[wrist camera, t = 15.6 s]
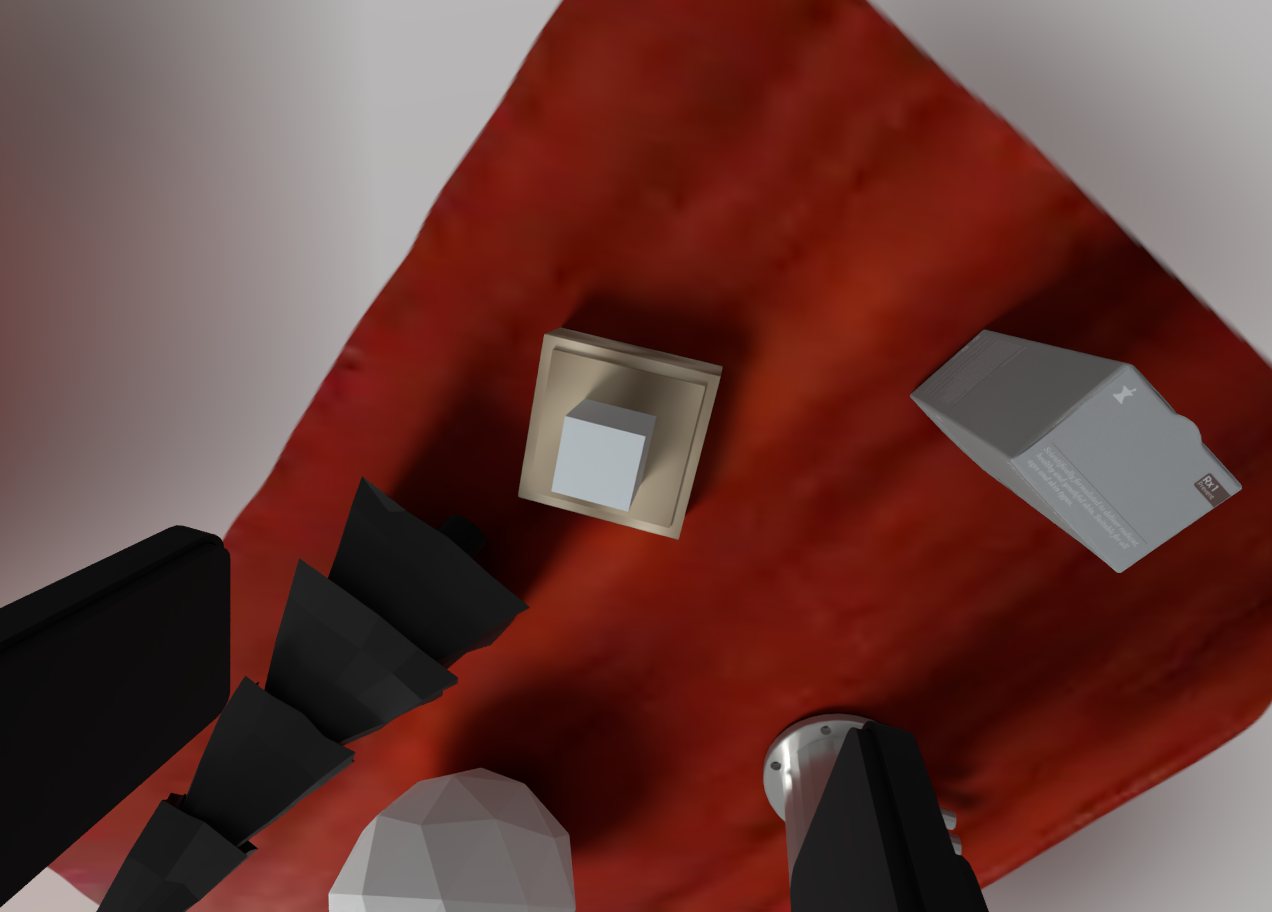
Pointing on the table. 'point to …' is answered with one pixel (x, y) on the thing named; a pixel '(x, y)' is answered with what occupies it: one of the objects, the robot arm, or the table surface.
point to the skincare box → (1078, 442)
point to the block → (603, 454)
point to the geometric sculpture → (460, 852)
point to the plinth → (631, 383)
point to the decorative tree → (322, 692)
